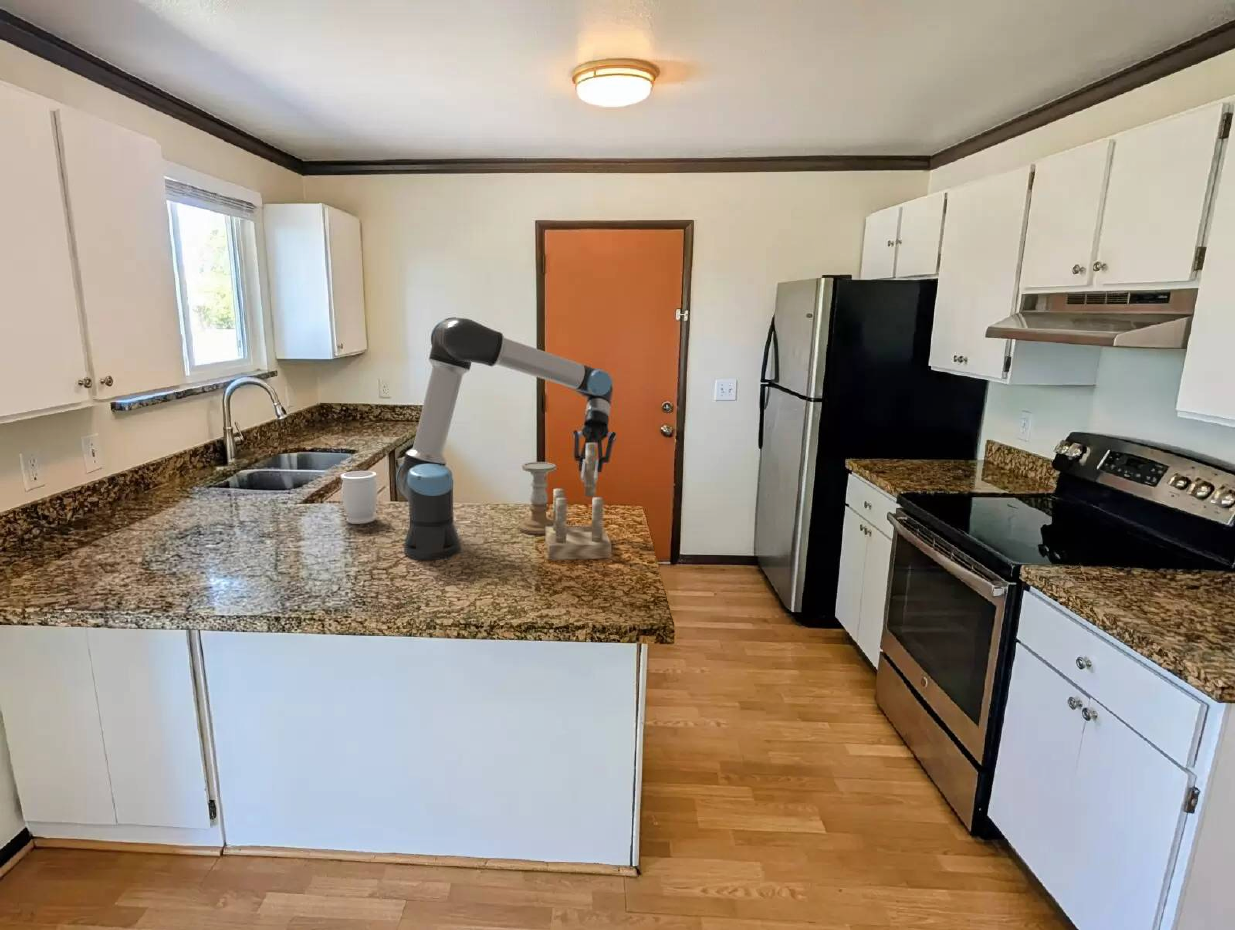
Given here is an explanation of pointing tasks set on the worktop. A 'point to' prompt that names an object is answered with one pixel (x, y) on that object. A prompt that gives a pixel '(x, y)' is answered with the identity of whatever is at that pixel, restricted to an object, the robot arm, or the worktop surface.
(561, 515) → the stool
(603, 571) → the worktop surface
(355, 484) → the jar
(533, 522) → the candle holder
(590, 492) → the stool leg
